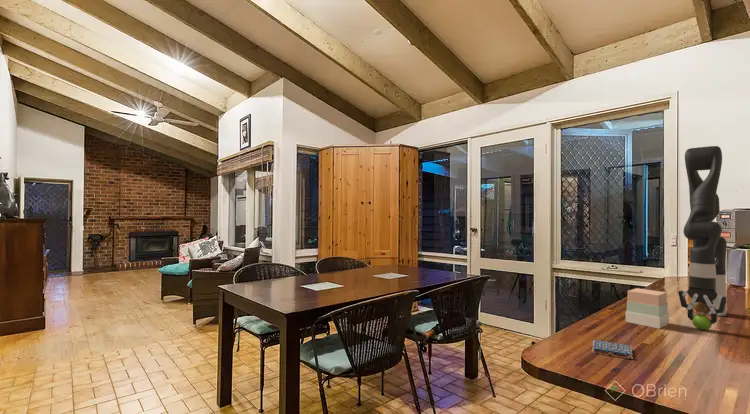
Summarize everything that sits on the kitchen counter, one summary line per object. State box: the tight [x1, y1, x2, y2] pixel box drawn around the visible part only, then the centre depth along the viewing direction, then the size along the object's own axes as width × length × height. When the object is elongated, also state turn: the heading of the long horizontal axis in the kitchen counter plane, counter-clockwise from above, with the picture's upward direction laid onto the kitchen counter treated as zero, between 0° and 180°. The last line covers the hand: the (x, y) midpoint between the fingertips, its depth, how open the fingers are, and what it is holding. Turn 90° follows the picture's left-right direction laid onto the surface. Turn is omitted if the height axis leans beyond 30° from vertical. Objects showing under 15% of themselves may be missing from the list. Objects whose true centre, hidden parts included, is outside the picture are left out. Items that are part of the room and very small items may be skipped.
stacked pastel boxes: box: [625, 287, 670, 329], centre depth 147 cm, size 11×11×12 cm
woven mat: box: [591, 338, 634, 360], centre depth 114 cm, size 10×11×2 cm
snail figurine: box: [691, 301, 713, 331], centre depth 138 cm, size 5×6×12 cm
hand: (702, 321), depth 139 cm, fingers closed on snail figurine, 5 cm apart
